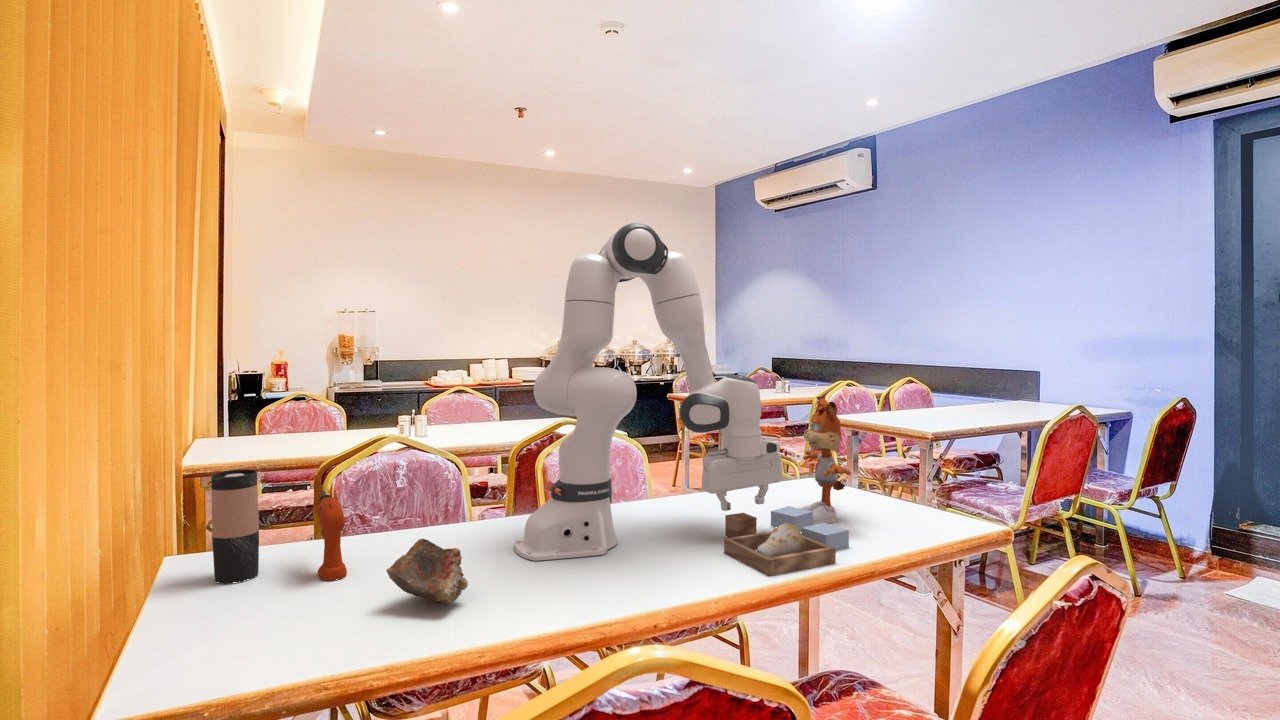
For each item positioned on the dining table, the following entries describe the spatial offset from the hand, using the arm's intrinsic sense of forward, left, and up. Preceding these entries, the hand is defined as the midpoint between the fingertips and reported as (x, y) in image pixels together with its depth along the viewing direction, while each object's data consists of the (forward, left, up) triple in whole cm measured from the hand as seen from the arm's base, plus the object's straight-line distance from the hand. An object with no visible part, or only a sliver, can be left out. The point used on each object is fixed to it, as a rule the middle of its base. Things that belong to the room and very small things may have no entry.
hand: (742, 506), depth 153 cm
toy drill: (-85, +19, -7) cm, 87 cm away
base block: (+12, -14, -7) cm, 20 cm away
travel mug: (-101, +21, -7) cm, 104 cm away
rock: (-69, -9, -7) cm, 70 cm away
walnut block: (-1, -1, -7) cm, 7 cm away
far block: (+15, +1, -7) cm, 17 cm away
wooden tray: (-2, -16, -7) cm, 17 cm away
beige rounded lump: (-3, -17, -7) cm, 19 cm away
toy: (+26, +3, -7) cm, 27 cm away
